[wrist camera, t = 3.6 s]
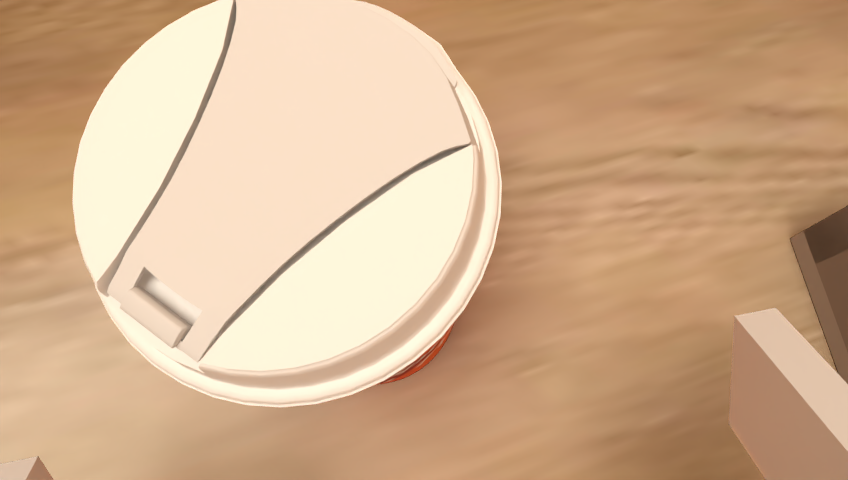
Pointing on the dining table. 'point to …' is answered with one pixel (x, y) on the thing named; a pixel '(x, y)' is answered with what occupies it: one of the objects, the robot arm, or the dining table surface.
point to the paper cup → (287, 199)
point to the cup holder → (828, 280)
